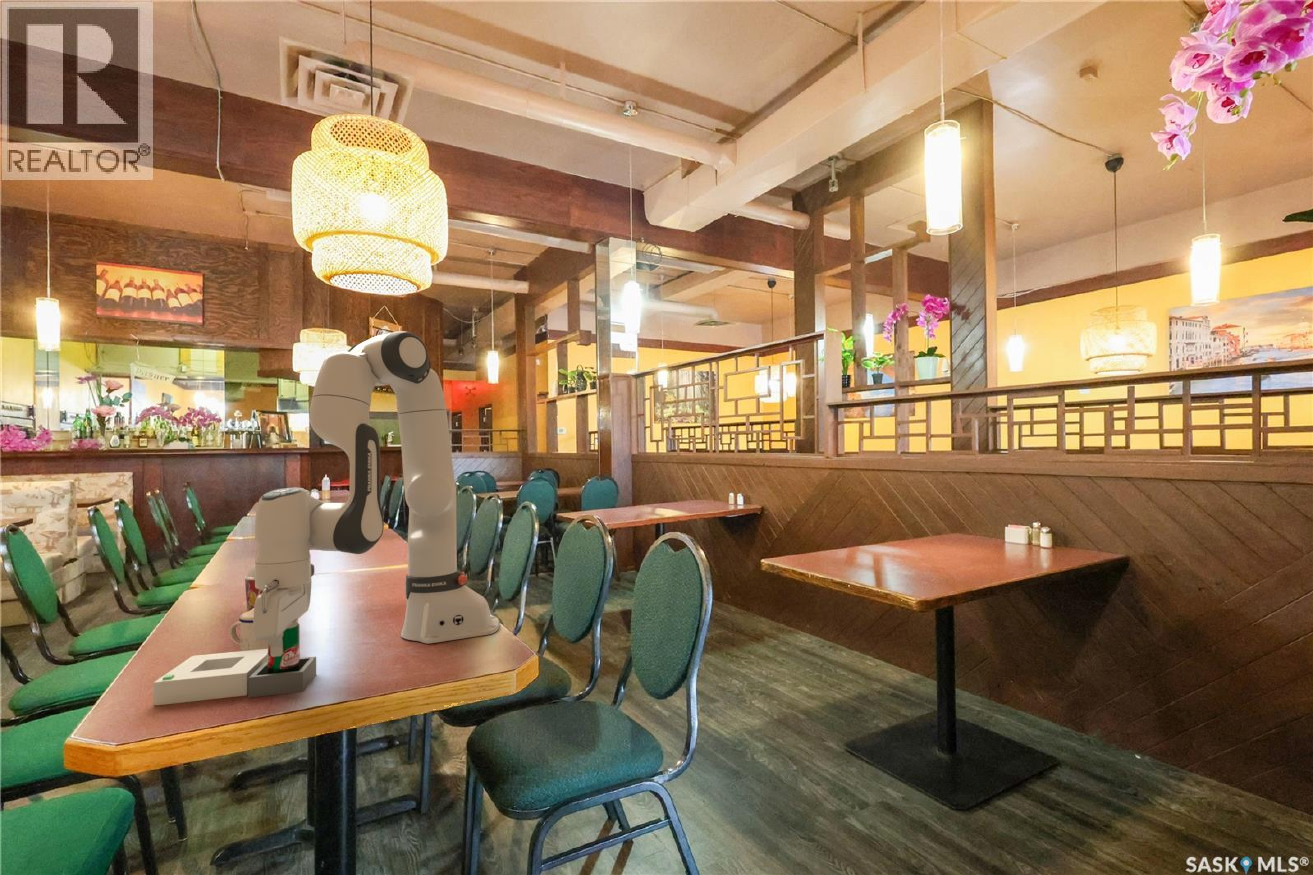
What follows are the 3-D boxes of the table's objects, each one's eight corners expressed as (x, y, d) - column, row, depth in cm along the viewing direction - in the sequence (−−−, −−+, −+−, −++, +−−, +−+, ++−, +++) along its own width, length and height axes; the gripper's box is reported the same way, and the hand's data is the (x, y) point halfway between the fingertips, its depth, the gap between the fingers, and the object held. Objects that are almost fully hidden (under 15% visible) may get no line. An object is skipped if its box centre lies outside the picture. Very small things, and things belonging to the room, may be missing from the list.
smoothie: (291, 628, 147) (291, 547, 147) (254, 638, 140) (254, 553, 140) (275, 624, 151) (275, 545, 152) (238, 632, 144) (238, 550, 145)
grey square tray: (316, 674, 116) (316, 656, 116) (302, 691, 108) (302, 672, 108) (265, 679, 114) (265, 661, 114) (248, 697, 105) (248, 677, 105)
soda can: (284, 691, 108) (284, 625, 108) (260, 690, 109) (260, 624, 109) (306, 681, 113) (305, 617, 113) (283, 679, 114) (283, 616, 114)
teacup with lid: (298, 648, 132) (298, 595, 132) (271, 662, 123) (271, 606, 123) (246, 648, 132) (246, 596, 133) (214, 663, 123) (214, 606, 124)
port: (273, 668, 120) (273, 646, 120) (246, 695, 106) (246, 670, 106) (192, 676, 116) (192, 653, 116) (153, 705, 102) (153, 680, 103)
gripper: (284, 585, 102) (284, 667, 102) (317, 564, 122) (317, 632, 121) (241, 588, 100) (241, 671, 100) (282, 566, 120) (282, 635, 120)
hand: (283, 649), depth 111 cm, fingers closed on soda can, 5 cm apart
